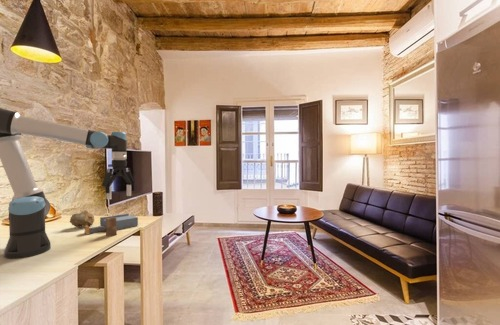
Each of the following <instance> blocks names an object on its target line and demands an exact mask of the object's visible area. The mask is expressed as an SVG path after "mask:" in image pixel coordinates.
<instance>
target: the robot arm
mask: <svg viewBox="0 0 500 325" xmlns="http://www.w3.org/2000/svg"><path fill="white" fill-rule="evenodd" d="M22 134H23V135H29V136H35V137H40V138H45V139H51V140H56V141H62V142H67V143H71V144H78V145H82V146H83V145H84V146H85V148H86V149H94V150H95V149H97V150H98V149H101V150H107V149H108V150H111V167H112V168H107V169H106V174H105V176H104V179H103V181H102V184H101V186H102V187H104V188H105V194H106V200H112V199H113V198H112V186H111V185H112V184H113V183H114V182H115V179H116V178H118V177H121V178H123V179H124V181H125V183H127V184H126V196H127V197H131V196H132V190H133V185H134V184H135V182H136V181H135V179H134V177H133V174H132V172H131V170H132V169H131V167H127V164H128V161H127V159H128V158H127V157H128V156H127V153H128V151H127V148H128V147H127V146H128V145H127V142H128V141H127V140H128V139H127V133H126V132H124V131H111V133H110V134H107V133H105V132H102V131H99V130H97V131H95V130H91V129H86V128H81V127H78V126H77V127H76V126H72V125H69V124H62V123H59V122H58V123H57V122H53V121H48V120H44V119H39V118H34V117H30V116H24V115H21V114H20V113H19V112H18V111H13V110H8V109H6V108H3V107H0V162H1V165H2V167H3V170H4V172H5V175H6V176H7V179H8V183H9V184H10V187H11V189H12V193H13V196H12V197H11V201H9V203H8V209H7V210H8V221H9V222H8V223H9V224H8V226H9V227H8V228H9V231H8V232H9V236H8V237H9V238H8V241H7V243H6V246H5V248H4V251H3V254H4V255H3V257H4V258H5V257H6V258H5V259H20V258H27V257H32V255H33V256H36V255H39V254H43V253H45V252H48V251H49V250H50V249H51V246H52V245H51V240H50V239H49V237H48V234H47V232H46V217H47V216H48V215H49V213H50V210H51V203H50V201H49V200H48V199H47V198H46V195H45V193H44V190H42V189H40V188H38V186H37V182H36V180H35V177H34V176H33V173H32V170H31V167H30V165H29V162H28V159H27V158H26V155H25V151H24V149H23V146H22V144H21V139H22V137H23V136H22Z"/></svg>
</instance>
